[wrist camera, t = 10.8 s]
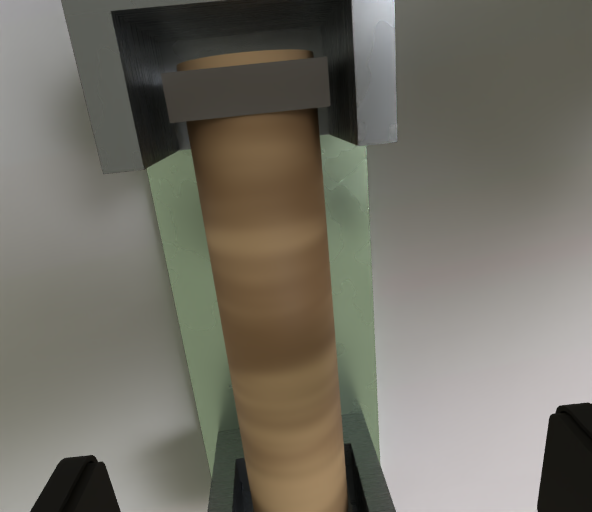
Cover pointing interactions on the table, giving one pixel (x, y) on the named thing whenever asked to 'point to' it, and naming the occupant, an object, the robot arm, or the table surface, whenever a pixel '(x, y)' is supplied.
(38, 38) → the table surface
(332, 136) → the bracket board
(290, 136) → the rail
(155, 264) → the table surface
